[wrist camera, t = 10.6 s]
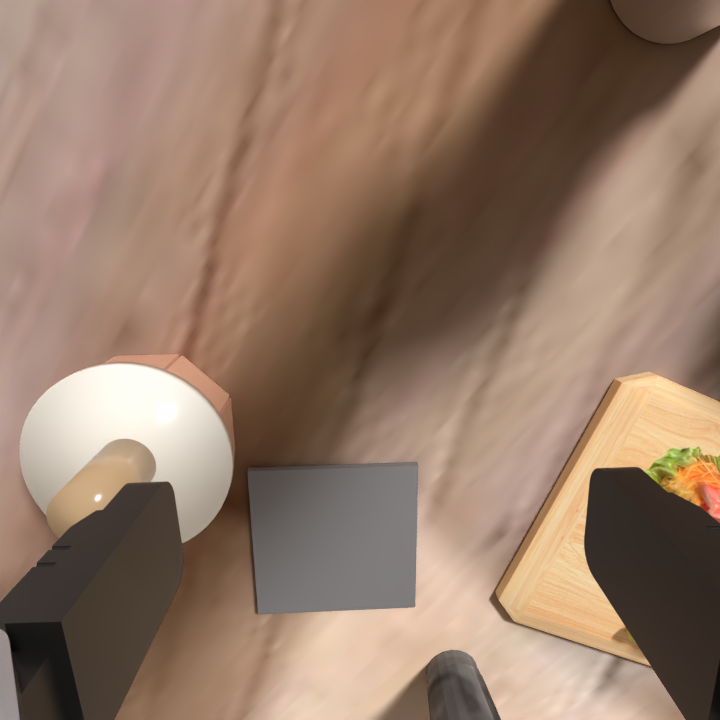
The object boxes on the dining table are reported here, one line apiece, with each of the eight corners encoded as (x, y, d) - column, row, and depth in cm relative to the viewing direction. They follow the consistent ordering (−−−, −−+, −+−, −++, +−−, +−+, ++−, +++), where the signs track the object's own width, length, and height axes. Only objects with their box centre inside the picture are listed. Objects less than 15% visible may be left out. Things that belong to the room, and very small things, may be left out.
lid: (226, 359, 32) (197, 397, 25) (240, 541, 35) (219, 616, 29) (11, 363, 31) (-77, 403, 25) (47, 548, 35) (-22, 627, 28)
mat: (416, 462, 40) (418, 465, 39) (413, 602, 44) (414, 607, 43) (248, 467, 39) (247, 471, 39) (259, 609, 43) (258, 614, 42)
